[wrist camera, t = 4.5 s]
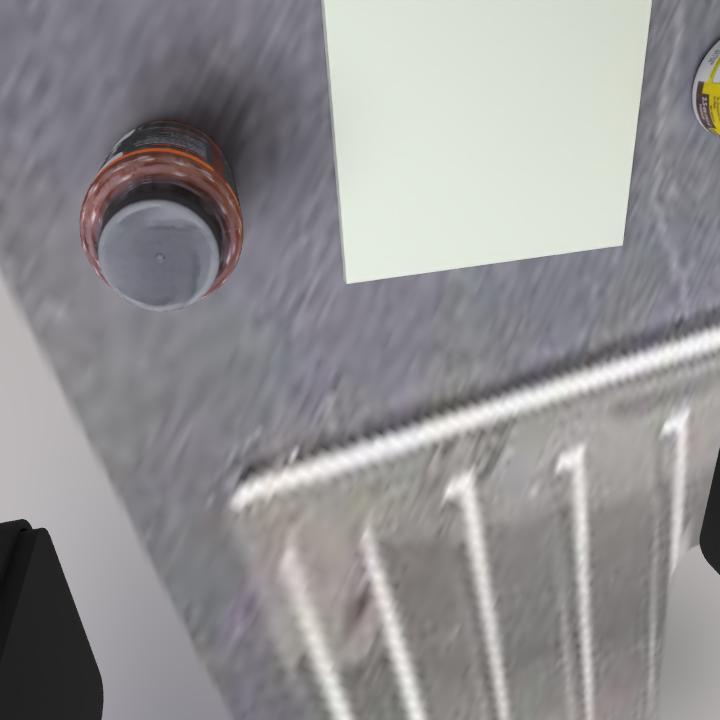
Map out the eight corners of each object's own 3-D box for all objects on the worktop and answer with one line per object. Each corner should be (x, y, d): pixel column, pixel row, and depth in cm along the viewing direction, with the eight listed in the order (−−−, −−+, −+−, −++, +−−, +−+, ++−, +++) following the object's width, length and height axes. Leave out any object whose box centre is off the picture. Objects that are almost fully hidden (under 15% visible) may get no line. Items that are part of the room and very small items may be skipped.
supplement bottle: (83, 138, 31) (29, 195, 21) (210, 102, 31) (215, 142, 21) (135, 258, 34) (108, 358, 24) (250, 224, 34) (271, 308, 24)
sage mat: (652, -90, 31) (663, -92, 31) (614, 241, 39) (622, 245, 38) (315, -71, 29) (318, -73, 28) (343, 278, 36) (346, 283, 36)
